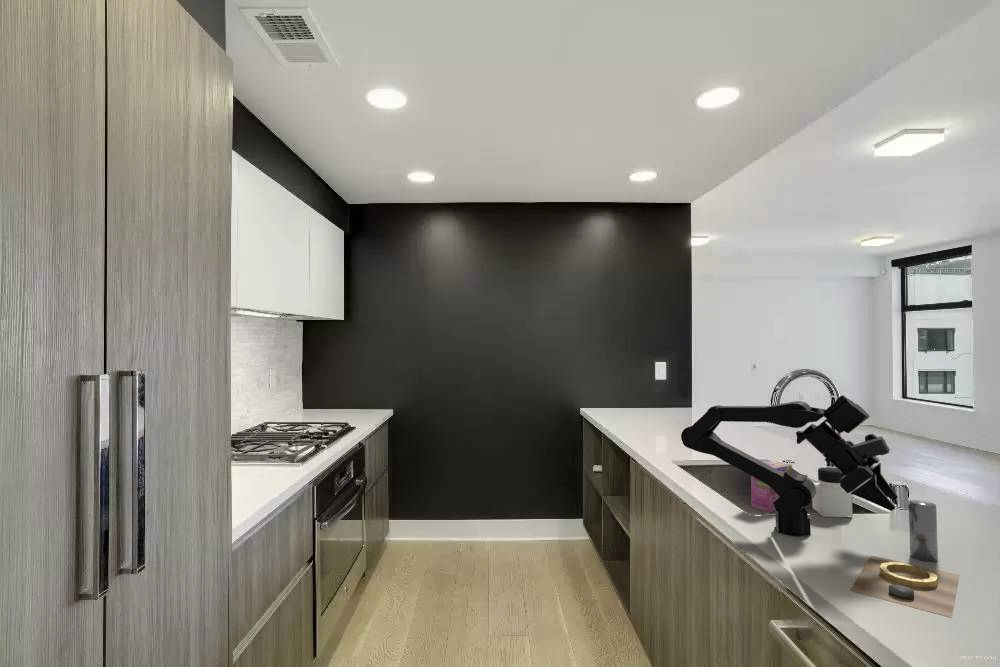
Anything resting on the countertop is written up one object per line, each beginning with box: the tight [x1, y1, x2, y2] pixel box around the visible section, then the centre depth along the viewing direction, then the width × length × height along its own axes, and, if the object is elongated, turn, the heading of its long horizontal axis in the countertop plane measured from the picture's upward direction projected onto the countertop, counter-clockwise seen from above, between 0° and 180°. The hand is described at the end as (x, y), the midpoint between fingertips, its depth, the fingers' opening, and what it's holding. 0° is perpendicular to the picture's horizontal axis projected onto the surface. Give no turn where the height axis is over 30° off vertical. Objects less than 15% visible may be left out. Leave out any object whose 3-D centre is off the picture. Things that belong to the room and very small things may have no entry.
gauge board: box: [849, 555, 960, 619], centre depth 98 cm, size 21×14×2 cm, turn 136°
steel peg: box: [907, 499, 939, 563], centre depth 109 cm, size 4×4×12 cm
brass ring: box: [879, 562, 938, 589], centre depth 99 cm, size 8×8×1 cm
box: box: [750, 460, 793, 513], centre depth 145 cm, size 10×6×12 cm, turn 117°
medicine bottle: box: [812, 466, 854, 518], centre depth 139 cm, size 7×7×12 cm
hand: (894, 503), depth 112 cm, fingers open, 9 cm apart
